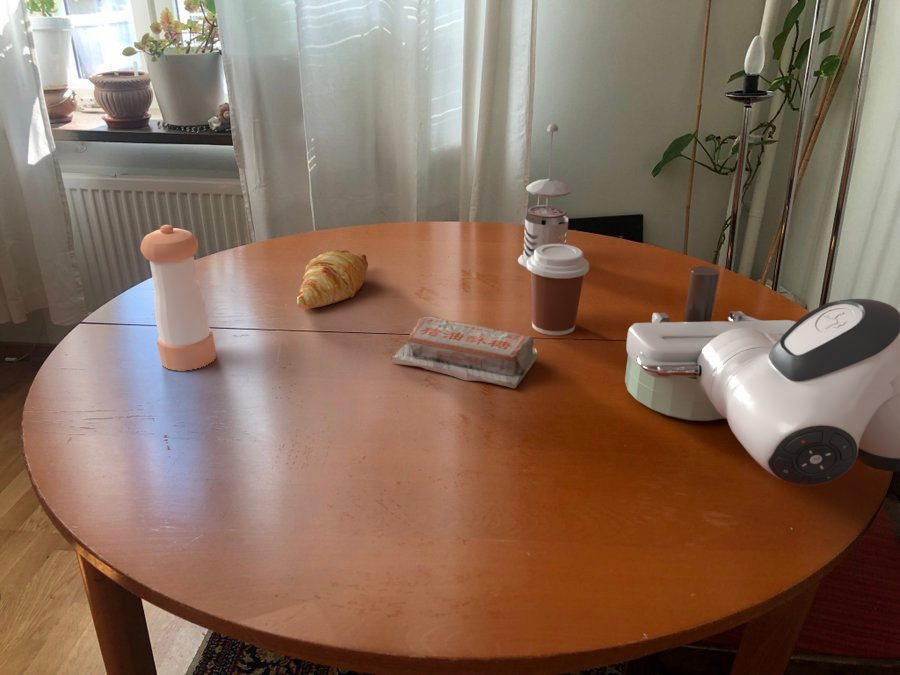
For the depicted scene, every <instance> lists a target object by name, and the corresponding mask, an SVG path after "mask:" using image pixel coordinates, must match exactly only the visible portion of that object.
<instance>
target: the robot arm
mask: <svg viewBox="0 0 900 675" xmlns="http://www.w3.org/2000/svg"><path fill="white" fill-rule="evenodd" d="M625 344H626V347H625V348H626V349H625V350H626V353H627V356H628V355H629V356H630V357H631V359H632V360H633V361H634V362H635V363H636V364H637V365H638V366H639V367H640V368H641V369H642V370H643V371H644V372H645V373H647V374H648V375H650V376H653V377H658V378H689V377H696V378H697V382H698V384H699V386H700V387H701V389H702V390H703V391H704V393H705V394H706V396H707V397H708V398H709V400H710V401H711V403H712V404H713V405H714V407H715V408H716V410H717V411H718V412H719V413H720V414H721V415H722V416H723V417H724V419H725V420H727V423H728V427H729V428H730V430H731V432H732V434H733V435H734V436H735V438H736V439H737V440H738V441H739V443H740V444H741V445H742V447H743V448H744V449H745V450H746V452H747V453H748V454H749V455H750V457H751V458H752V459H753V460H754V461H755V462H757V464H758V465H759V466H761V467H762V469H764V470H765V471H767V473H769V474H771V475H772V476H774V478H775V477H776V479H779V480H781V481H784V482H786V483H789V484H792V485H798V486H806V487H807V486H809V487H810V486H819V485H823V484H828V483H830V482H832V481H835V480H837V479H838V478H840V477H841V476H843V475H844V474H846V473H847V472H848V471H849V470H851V468H852V467H853V465H854V464H855V462H856V460H858V461H859V462H861V463H862V464H864V465H866V466H867V467H870V468H873V469H874V470H875V469H876V470H879V471H885V472H892V473H894V472H895V473H900V311H899V310H898V309H897V308H896V307H894V306H893V305H891V304H888V303H886V302H883V301H879V300H875V299H869V298H849V299H847V298H846V299H840V300H835V301H831V302H827V303H825V304H822V305H820V306H819V307H817V308H815V309H813V310H812V311H810V312H808V313H806V314H804V316H801V318H800V319H798V320H797V321H796V320H791V319H778V320H776V319H775V320H770V319H768V320H761V319H758V318H755V317H751V316H748V315H746V314H745V313H744V312H743V311H741V310H739V311H738V310H735V311H734V310H733V311H728V313H727V318H726V321H724V320H723V321H722V320H721V321H718V320H717V321H711V322H683V321H675V322H674V321H672V322H671V321H670V316H669V315H668V314H667V313H666V312H653V313H652V317H651V322H635V323H632V324H631V325H630V327H629V328H628V330H627V335H626V343H625Z"/></svg>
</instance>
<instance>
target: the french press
mask: <svg viewBox="0 0 900 675" xmlns="http://www.w3.org/2000/svg"><path fill="white" fill-rule="evenodd" d="M546 131H547V132H551V133H550V134H551V135H550V136H551V137H550V152H549V165H548V178H546V179H538V180H535V181H533V182H531V183H529V184H528V185H527V186H526V188H525V190H526V191H527V192H528V193H529V194H531V195H534V196H537V205H533V206H530V207H528V208H527V213H528V215H526V216H525V218H524V235H523V236H524V237H523V253H522V254H521V255H520V256H519V257H518V259H517V262H518V263H519V265H520V266H522V267H525V268H527V260H528V259H529V258H530V257H531V256H533V255H534V250H535V249H536V248H538V247H539V246H542V245H547V244H563V243H564V244H565V245H568V244H567V243H568V241H567V240H568V230H569V229H568V228H569V218H568V217H567V216H566V215H567V214H568V210H567V209H565V208H564V207H561V206H560V205H559V206H558V205H550V204H549V201H550V199H549V198H560V197H565V196H568V195H570V194H571V192H572V191H573V190H572V188H571V187H570V186H569V185H568V184H566V183H565V182H563V181H560V180H557V179H553V178H551V169H552V156H553V141H554V140H553V138H554V133H555V132H558V131H559V127H558V125H557V124H555V123H550V124H549V125H547V128H546ZM541 199H545V200H546V204H540V200H541ZM543 219H545V224H542V221H543ZM560 236H562V237H563V238H560Z"/></svg>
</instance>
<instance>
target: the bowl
mask: <svg viewBox="0 0 900 675" xmlns="http://www.w3.org/2000/svg"><path fill="white" fill-rule="evenodd" d="M624 383H625V386H626V389H627V392H628V393H629V394H630V396H632V397H633V398H634V399H635V400H636V401H637V402H639V403H641V404H642V405H644V406H646V407H647V408H649V409H650V410H652V411H654V412H657V413H658V414H661V415H665V416H667V417H671V418H675V419H679V420H684V421H694V422H710V421H716V420H717V421H718V420H723V419H724V420H725V418H724V417H723V416H722V415H721V414H720V413H719V412H718V411H717V410H716V408H715V407H714V405H713V404H712V403H711V401H710V400H709V398H708V397H707V396H706V394H705V393H704V391H703V390H702V389H701V387H700V386H699V384H698V382H697V379H692V378H658V377H653V376H650V375H648V374H647V373H645V372H644V371H643V370H642V369H641V368H640V367H639V366H638V365H637V364H636V363H635V362H634V361H633V360H632V359H631V357H630V356H629V355H628V354H627V360H626V368H625V377H624Z"/></svg>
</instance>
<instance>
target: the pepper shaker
mask: <svg viewBox="0 0 900 675" xmlns="http://www.w3.org/2000/svg"><path fill="white" fill-rule="evenodd" d="M198 248H199V241H198V239H197V237H195V235H194V234H193V233H192V232H191V231H189V230H186V229H182V228H178V227H173V226H172V225H170V224H164V225H162V226H160V228H159V229H156V230H153V231H152V232H150V233H148V234H146V235H145V236H143V239H142V241H141V243H140V249H139V250H140V252H141V254H142V255H143V257H144V258H145V259H146V260H147V261H149V265H150V266H149V267H150V272H151V277H152V283H153V289H154V319H155V324H156V329H157V332H158V337H157V341H156V344H157V350H158V354H159V358H160V364H161V363H162V364H161V365H163V366H164V367H166V368H168V369H172V370H178V371H177V372H187V371H186V370H190V371H193V370H192V369H195V370H198V369H197V368H199V369H202V368H204V367H207V366H209V365H210V364H212V363H214V361H215V360H216V358H217V350H216V343H215V337H214V333H213V331H212V330H211V329H210V323H209V316H208V314H209V313H208V308H207V306H206V305H207V304H206V302H205V299H204V297H203V294H202V290H201V288H200V284H199V279H198V274H197V273H198V272H197V268H196V261H195V255H196V254H197V253H198ZM214 359H215V360H214ZM211 362H212V363H211ZM209 363H210V364H209ZM208 364H209V365H208ZM206 365H207V366H206ZM163 366H162V367H163ZM203 366H204V367H203ZM164 367H163V368H164ZM201 367H202V368H201ZM166 368H165V369H166ZM168 369H167V370H168ZM172 370H171V371H172Z"/></svg>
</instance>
